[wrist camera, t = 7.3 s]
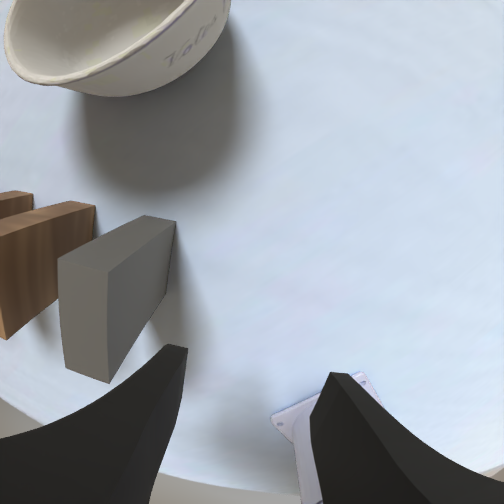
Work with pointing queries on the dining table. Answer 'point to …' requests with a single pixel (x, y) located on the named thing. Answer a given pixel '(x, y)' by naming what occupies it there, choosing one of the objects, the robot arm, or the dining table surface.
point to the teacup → (110, 42)
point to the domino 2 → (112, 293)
